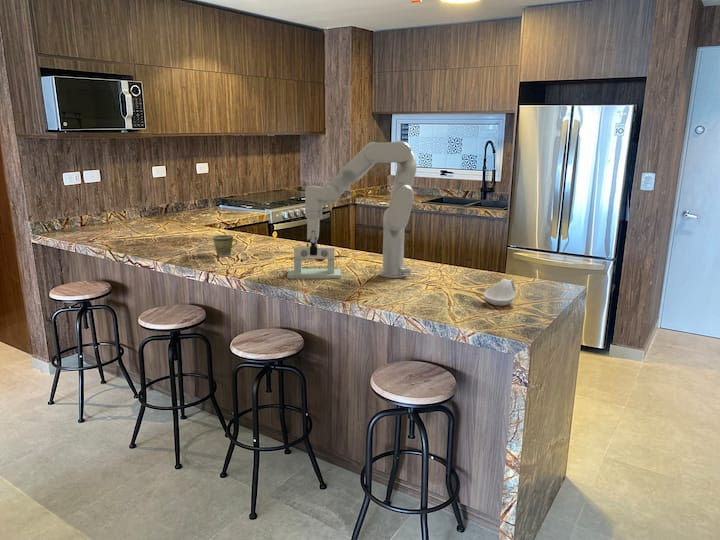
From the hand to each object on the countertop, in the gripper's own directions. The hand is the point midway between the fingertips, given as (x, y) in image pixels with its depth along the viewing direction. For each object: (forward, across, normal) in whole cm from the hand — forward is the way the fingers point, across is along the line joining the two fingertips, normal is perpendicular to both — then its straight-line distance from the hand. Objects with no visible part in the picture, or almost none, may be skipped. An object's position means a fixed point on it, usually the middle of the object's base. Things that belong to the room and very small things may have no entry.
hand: (313, 253), depth 247 cm
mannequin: (+11, -42, 0) cm, 43 cm away
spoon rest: (+9, +37, +76) cm, 85 cm away
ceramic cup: (+11, -39, -46) cm, 61 cm away
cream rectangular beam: (+2, 0, 0) cm, 2 cm away
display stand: (+10, 0, 0) cm, 10 cm away
